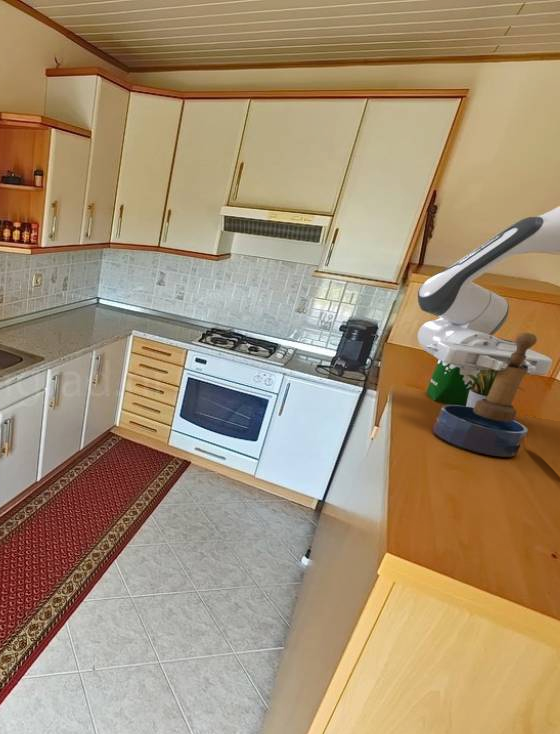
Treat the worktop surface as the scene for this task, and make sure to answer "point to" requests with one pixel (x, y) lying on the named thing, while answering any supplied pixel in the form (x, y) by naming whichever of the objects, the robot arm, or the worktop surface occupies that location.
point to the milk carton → (451, 384)
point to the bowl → (478, 431)
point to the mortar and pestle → (506, 384)
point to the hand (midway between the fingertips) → (517, 368)
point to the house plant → (480, 391)
